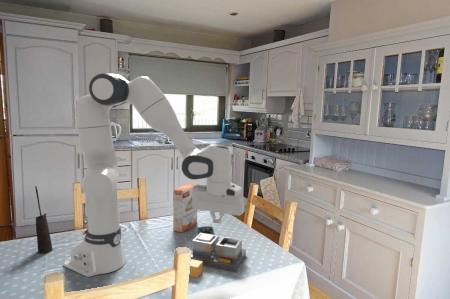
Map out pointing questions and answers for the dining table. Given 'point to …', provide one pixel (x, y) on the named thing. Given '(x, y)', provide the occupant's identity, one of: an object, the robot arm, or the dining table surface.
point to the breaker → (206, 238)
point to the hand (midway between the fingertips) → (217, 222)
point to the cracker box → (183, 208)
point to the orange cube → (195, 267)
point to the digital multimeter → (206, 230)
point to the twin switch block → (218, 252)
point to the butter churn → (42, 231)
